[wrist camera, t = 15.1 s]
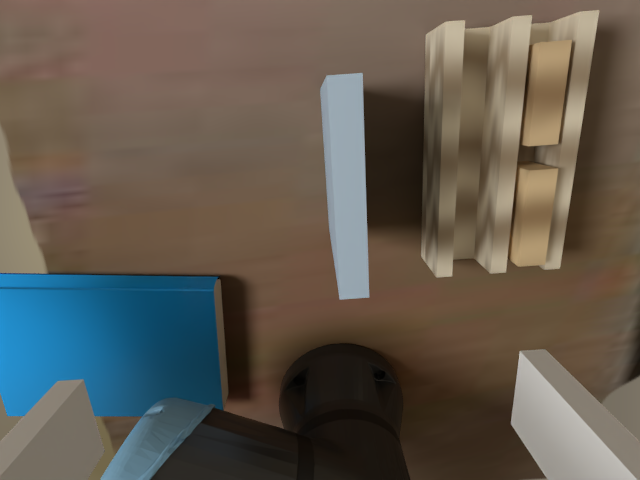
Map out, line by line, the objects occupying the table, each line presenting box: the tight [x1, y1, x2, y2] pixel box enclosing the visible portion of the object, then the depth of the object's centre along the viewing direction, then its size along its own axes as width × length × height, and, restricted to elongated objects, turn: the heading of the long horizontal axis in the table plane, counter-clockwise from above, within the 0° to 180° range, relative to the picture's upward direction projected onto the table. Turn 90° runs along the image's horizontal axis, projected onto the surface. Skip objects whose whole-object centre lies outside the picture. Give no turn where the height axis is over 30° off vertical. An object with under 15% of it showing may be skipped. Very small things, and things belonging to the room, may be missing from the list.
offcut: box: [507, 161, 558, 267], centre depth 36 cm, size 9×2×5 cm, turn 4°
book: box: [0, 273, 229, 416], centre depth 43 cm, size 17×4×25 cm
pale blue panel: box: [320, 73, 369, 299], centre depth 31 cm, size 14×2×16 cm, turn 4°
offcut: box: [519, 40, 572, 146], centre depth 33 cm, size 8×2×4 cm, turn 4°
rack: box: [421, 10, 599, 277], centre depth 36 cm, size 22×12×6 cm, turn 4°
